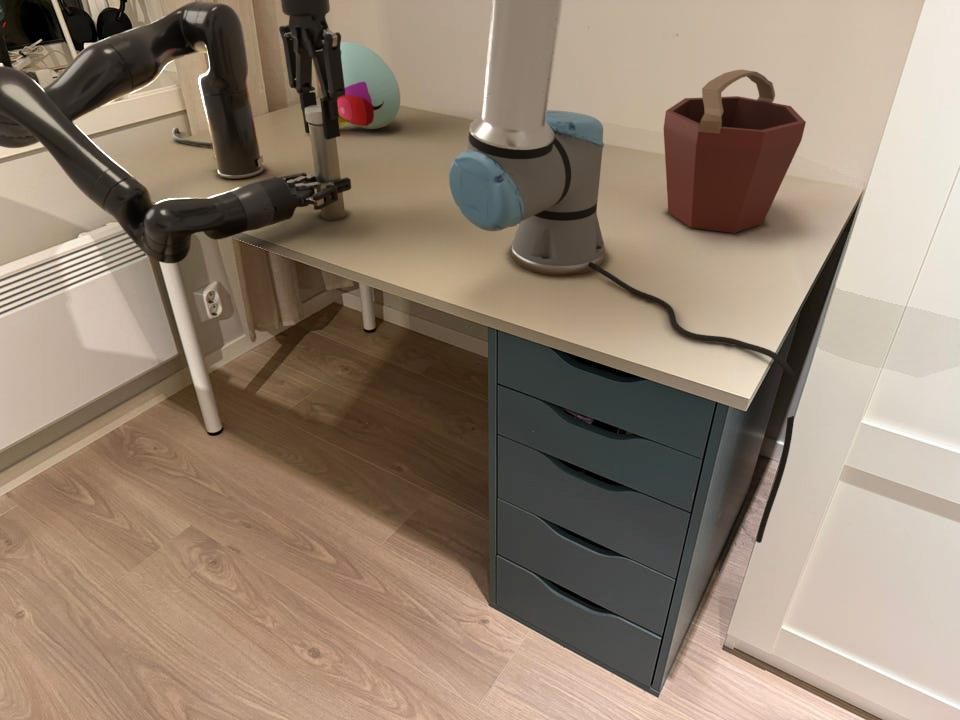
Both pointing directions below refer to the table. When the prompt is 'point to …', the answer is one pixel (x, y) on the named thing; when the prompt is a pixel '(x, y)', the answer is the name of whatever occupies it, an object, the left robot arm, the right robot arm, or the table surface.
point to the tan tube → (326, 167)
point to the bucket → (728, 154)
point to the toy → (367, 88)
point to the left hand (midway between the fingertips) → (341, 179)
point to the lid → (314, 114)
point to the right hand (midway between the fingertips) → (322, 134)
